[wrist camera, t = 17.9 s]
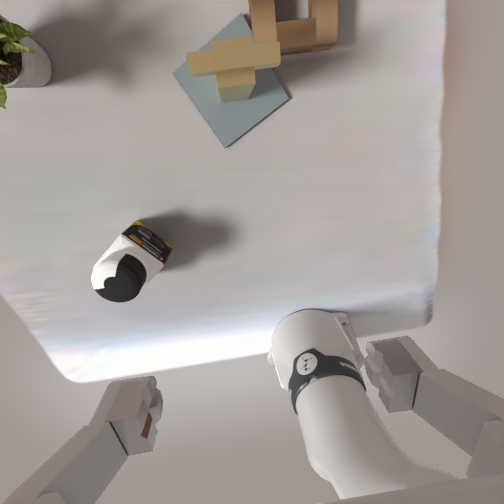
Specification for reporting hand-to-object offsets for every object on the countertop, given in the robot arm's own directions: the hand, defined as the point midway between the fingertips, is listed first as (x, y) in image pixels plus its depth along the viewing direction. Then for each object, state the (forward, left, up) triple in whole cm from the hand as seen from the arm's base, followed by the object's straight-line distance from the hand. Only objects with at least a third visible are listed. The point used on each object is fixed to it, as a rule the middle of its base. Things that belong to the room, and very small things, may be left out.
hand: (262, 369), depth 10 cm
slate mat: (+12, -8, -34) cm, 37 cm away
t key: (+12, -8, -34) cm, 36 cm away
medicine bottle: (+2, +18, -34) cm, 39 cm away
